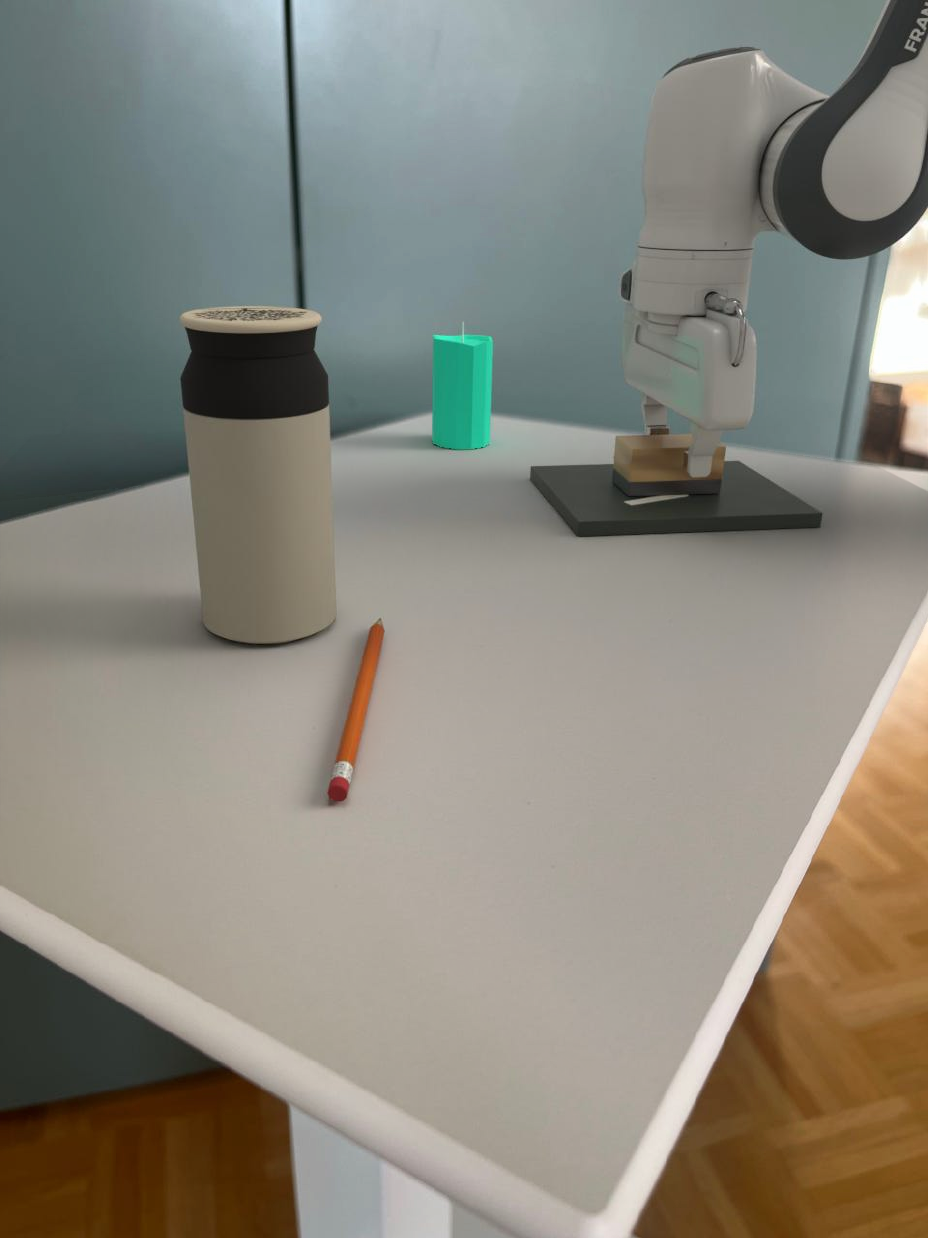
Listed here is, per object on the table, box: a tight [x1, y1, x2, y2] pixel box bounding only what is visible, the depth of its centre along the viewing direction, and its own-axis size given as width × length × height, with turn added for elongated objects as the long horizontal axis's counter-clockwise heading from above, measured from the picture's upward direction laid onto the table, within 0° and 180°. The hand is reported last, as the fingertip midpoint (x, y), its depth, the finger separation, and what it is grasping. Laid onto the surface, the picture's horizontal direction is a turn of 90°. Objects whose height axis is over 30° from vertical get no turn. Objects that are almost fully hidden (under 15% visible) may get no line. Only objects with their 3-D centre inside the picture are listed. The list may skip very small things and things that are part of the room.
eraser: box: [612, 433, 727, 496], centre depth 84 cm, size 8×4×4 cm, turn 100°
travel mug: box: [179, 305, 337, 645], centre depth 57 cm, size 8×8×18 cm
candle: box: [431, 321, 494, 450], centre depth 100 cm, size 6×6×12 cm
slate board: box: [529, 460, 823, 537], centre depth 85 cm, size 20×16×1 cm
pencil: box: [327, 617, 385, 803], centre depth 52 cm, size 1×19×1 cm, turn 179°
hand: (674, 459), depth 84 cm, fingers open, 8 cm apart
